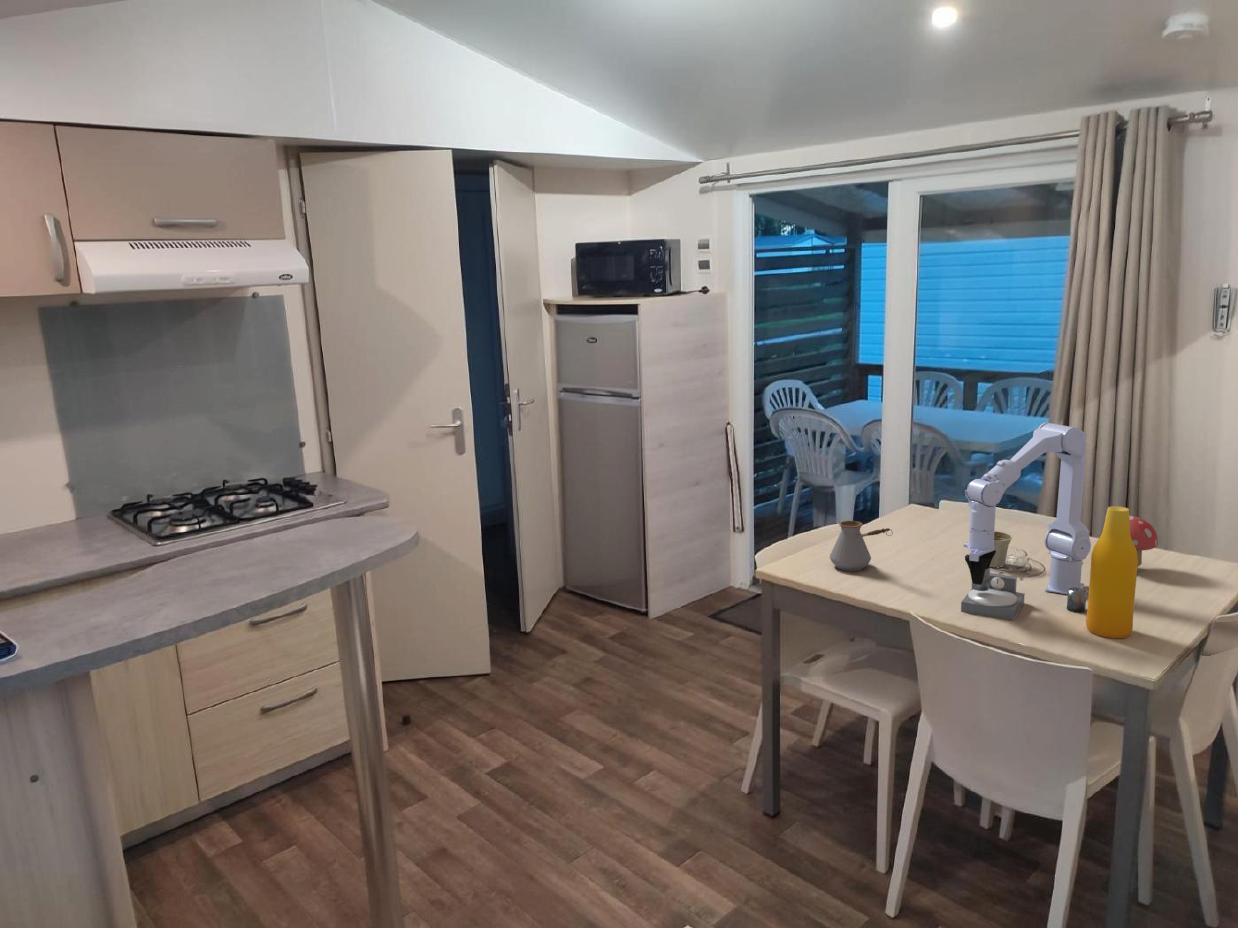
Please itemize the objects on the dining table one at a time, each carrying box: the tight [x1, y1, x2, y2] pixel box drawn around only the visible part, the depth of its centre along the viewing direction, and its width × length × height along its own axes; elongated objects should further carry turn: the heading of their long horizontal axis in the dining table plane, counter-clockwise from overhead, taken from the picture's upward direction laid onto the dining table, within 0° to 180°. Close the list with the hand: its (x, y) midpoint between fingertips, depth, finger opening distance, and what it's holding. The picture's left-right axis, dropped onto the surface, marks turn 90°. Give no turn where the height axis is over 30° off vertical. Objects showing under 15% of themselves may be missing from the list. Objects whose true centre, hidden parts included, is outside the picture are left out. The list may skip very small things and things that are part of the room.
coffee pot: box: [829, 520, 894, 572], centre depth 245 cm, size 21×12×15 cm, turn 27°
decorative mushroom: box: [1129, 515, 1159, 568], centre depth 237 cm, size 13×13×15 cm
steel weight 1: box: [971, 567, 991, 591], centre depth 216 cm, size 4×4×5 cm
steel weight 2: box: [1066, 588, 1088, 614], centre depth 212 cm, size 4×4×5 cm
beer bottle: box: [1085, 505, 1139, 639], centre depth 197 cm, size 9×9×29 cm
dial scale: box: [960, 572, 1025, 621], centre depth 216 cm, size 13×12×6 cm
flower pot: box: [989, 530, 1013, 569], centre depth 246 cm, size 9×9×9 cm
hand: (979, 580), depth 216 cm, fingers closed on steel weight 1, 4 cm apart
